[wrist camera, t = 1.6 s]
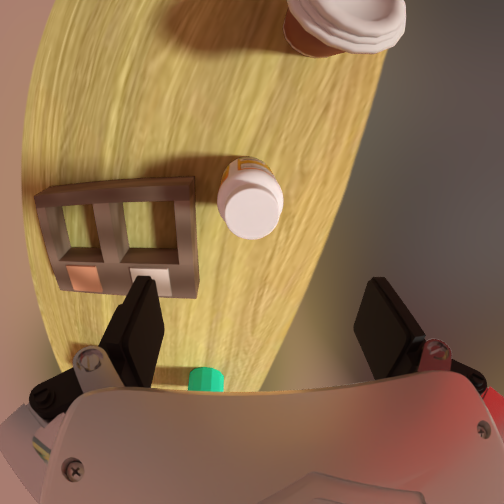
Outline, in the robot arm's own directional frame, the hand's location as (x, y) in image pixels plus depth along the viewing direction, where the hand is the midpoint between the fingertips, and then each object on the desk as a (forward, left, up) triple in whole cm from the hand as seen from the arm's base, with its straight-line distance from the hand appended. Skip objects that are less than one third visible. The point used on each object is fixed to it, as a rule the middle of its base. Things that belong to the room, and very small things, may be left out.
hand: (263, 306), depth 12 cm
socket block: (+6, -15, -19) cm, 25 cm away
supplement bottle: (0, 0, -19) cm, 19 cm away
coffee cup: (-17, +6, -19) cm, 27 cm away
